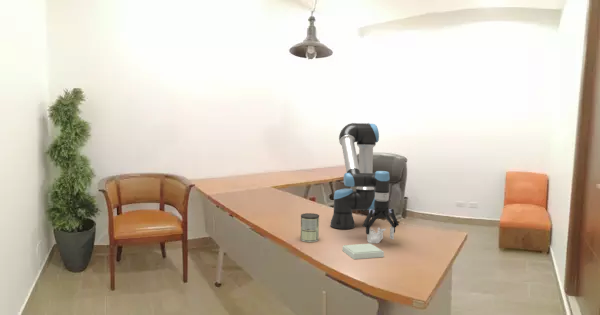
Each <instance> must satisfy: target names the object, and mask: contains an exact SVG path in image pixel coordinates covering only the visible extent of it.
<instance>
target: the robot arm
mask: <svg viewBox="0 0 600 315" xmlns="http://www.w3.org/2000/svg"><path fill="white" fill-rule="evenodd" d="M339 132H340V133H339V136H338V140H339V141H338V143H339V145H340V146H341V150H342V154H343V159H344V166H345V173H343V184H344V187H350V188H341V189H337V190H334V194H333V214H332V218H331V219H330V227H332V228H334V229H340V230H341V229H342V230H350V229H354V228H355V224H356V223H355V219H354V217H353V211H354V210H355V211H357V210H358V211H361V210H366V211H367V215H366V217H365V219H364V221H363V223H362V227H364V228H365V234H366V235H367V236H366V237H367V238H366V240H367V241H368V240H369V241H371V232H372V228H371V226H372V225H373V224H374V223H375V222H376V221H377V220H378V219H382V218H383V219H384V218H385V220H387V222H388V224H390V227H389V239H390V240H395V238H394V237H395V233H396V228H397V227H398V226H399V225H400V224H399V222H398V219H397V217H396V214H395V210H394V208H391V207H390V208H389V206H390V202H389V200H390V179H391V178H390V172H389V171H385V170H376V171H375V172H373V168H374V167H373V165H374V160H373V159H374V148H375V147H376V144H377V143H378V142H379V140H380V134H379V132H380V131H379V129H378V126H377V124H375V123H369V122H368V123H365V122H364V123H362V122H361V123H356V122H352V123H348V124H346V125H344V126H343V128H342V129H341V130H340V131H339ZM355 143H356V144H355ZM356 146H357V147H358V156H357V151H356ZM351 187H352V188H351ZM354 187H355V190H353V188H354ZM389 215H390V216H389ZM390 217H391V218H390Z"/></svg>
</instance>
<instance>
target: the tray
mask: <svg viewBox="0 0 600 315" xmlns="http://www.w3.org/2000/svg"><path fill="white" fill-rule="evenodd" d="M342 252H344V253H345V254H346V255H347V256H349V257H350V258H351V259H353V260H361V259H377V258H384V257H385V252H384V250H382V249H381V248H379V247H378V246H376V245H374V244H373V243H360V244H359V243H356V244H347V245H346V244H344V245H342Z"/></svg>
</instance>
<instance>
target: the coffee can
mask: <svg viewBox="0 0 600 315" xmlns="http://www.w3.org/2000/svg"><path fill="white" fill-rule="evenodd" d="M319 223H320V214H318V213H314V212H313V213H312V212H311V213H310V212H309V213H308V212H306V213H302V214H301V215H300V241H302V242H304V243H315V242H318V241H319V225H320V224H319Z"/></svg>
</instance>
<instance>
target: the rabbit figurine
mask: <svg viewBox="0 0 600 315" xmlns="http://www.w3.org/2000/svg"><path fill="white" fill-rule="evenodd" d="M386 230H387V228H386V227H385V228H380V227H377V232H376V230H374V228H371V241H369V240H367V244H379V243H380V242H381V240H383V238H384V235H383V234H384V232H385V231H386Z"/></svg>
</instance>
